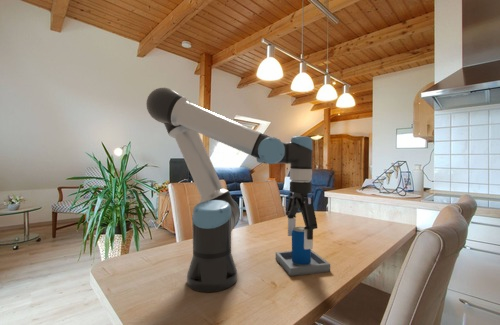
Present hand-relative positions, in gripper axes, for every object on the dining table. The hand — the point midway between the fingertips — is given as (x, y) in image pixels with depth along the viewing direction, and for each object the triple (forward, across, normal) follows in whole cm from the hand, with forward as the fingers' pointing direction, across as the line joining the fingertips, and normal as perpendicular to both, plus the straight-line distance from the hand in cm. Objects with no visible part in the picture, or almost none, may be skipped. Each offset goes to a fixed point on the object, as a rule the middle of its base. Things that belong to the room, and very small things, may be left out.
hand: (299, 241), depth 84 cm
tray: (+8, 0, -1) cm, 8 cm away
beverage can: (+8, 0, -1) cm, 8 cm away
